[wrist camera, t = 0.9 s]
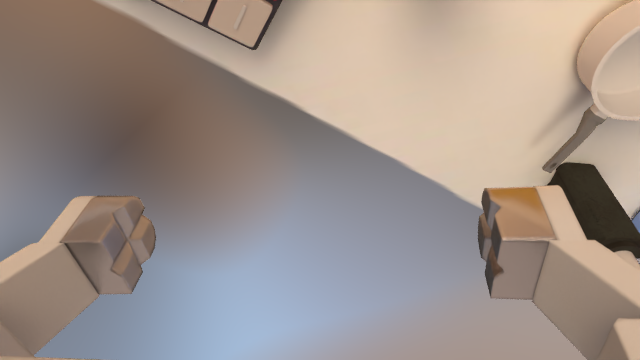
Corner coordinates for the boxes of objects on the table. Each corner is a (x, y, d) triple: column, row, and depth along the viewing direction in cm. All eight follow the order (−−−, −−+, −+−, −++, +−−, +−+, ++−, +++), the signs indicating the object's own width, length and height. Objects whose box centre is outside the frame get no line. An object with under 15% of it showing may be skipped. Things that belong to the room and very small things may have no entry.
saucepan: (494, 125, 55) (507, 154, 51) (635, -33, 43) (669, -12, 38) (566, 158, 58) (584, 188, 54) (717, 19, 46) (755, 44, 42)
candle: (580, 193, 62) (688, 374, 43) (543, 190, 62) (636, 371, 43) (598, 164, 58) (724, 348, 40) (560, 161, 58) (668, 344, 40)
